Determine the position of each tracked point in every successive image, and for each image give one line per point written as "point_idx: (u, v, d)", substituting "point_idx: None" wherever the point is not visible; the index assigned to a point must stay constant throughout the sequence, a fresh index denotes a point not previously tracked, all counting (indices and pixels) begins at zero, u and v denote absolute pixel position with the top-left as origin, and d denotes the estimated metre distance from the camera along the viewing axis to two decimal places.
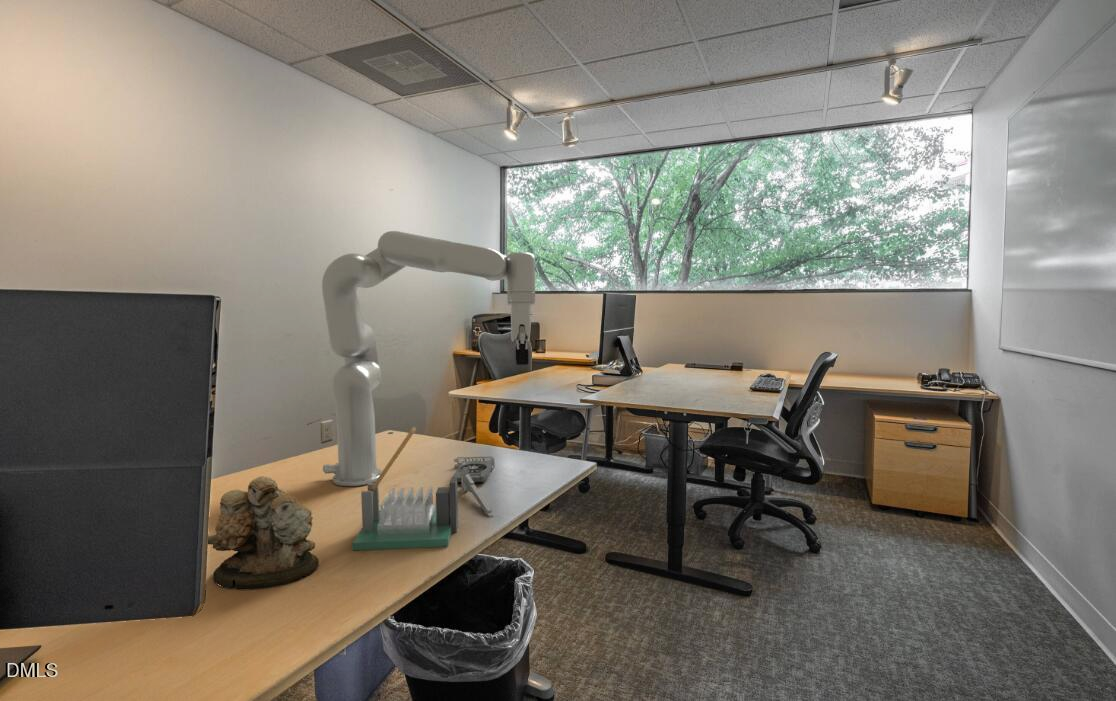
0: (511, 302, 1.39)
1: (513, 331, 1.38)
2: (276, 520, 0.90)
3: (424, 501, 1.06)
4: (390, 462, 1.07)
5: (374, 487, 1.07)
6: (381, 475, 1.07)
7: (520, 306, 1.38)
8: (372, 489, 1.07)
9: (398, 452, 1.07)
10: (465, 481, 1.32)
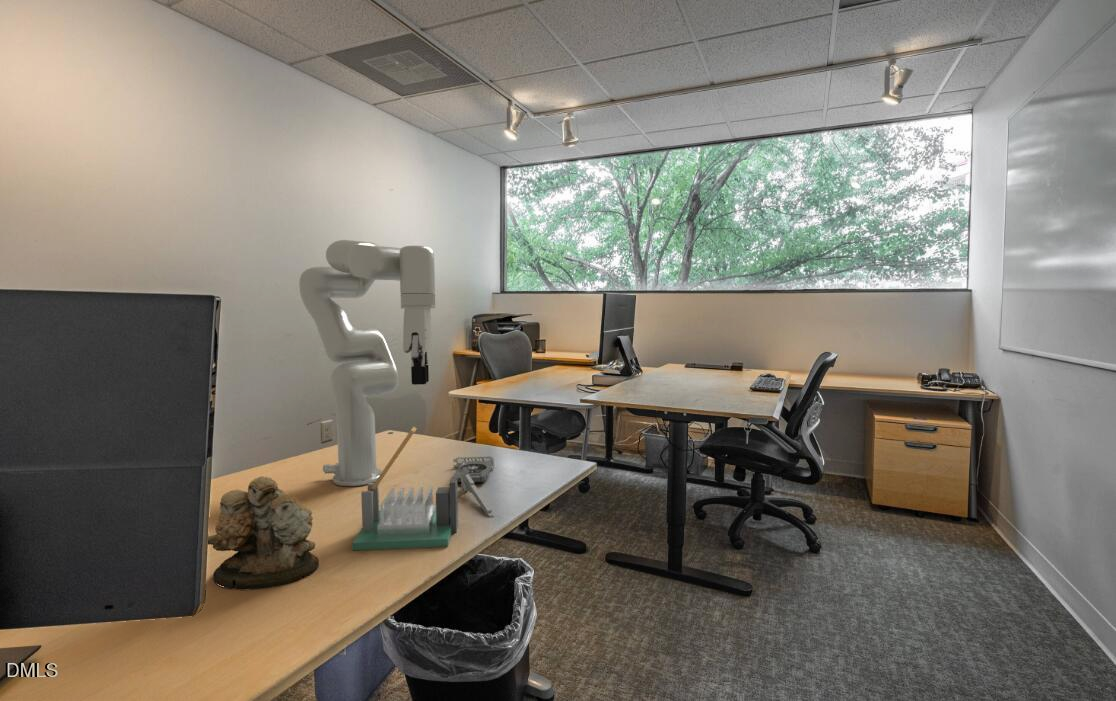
0: (403, 306, 1.16)
1: (404, 341, 1.14)
2: (276, 520, 0.90)
3: (424, 501, 1.06)
4: (390, 462, 1.07)
5: (374, 487, 1.07)
6: (381, 475, 1.07)
7: (413, 310, 1.14)
8: (372, 489, 1.07)
9: (398, 452, 1.07)
10: (465, 481, 1.32)
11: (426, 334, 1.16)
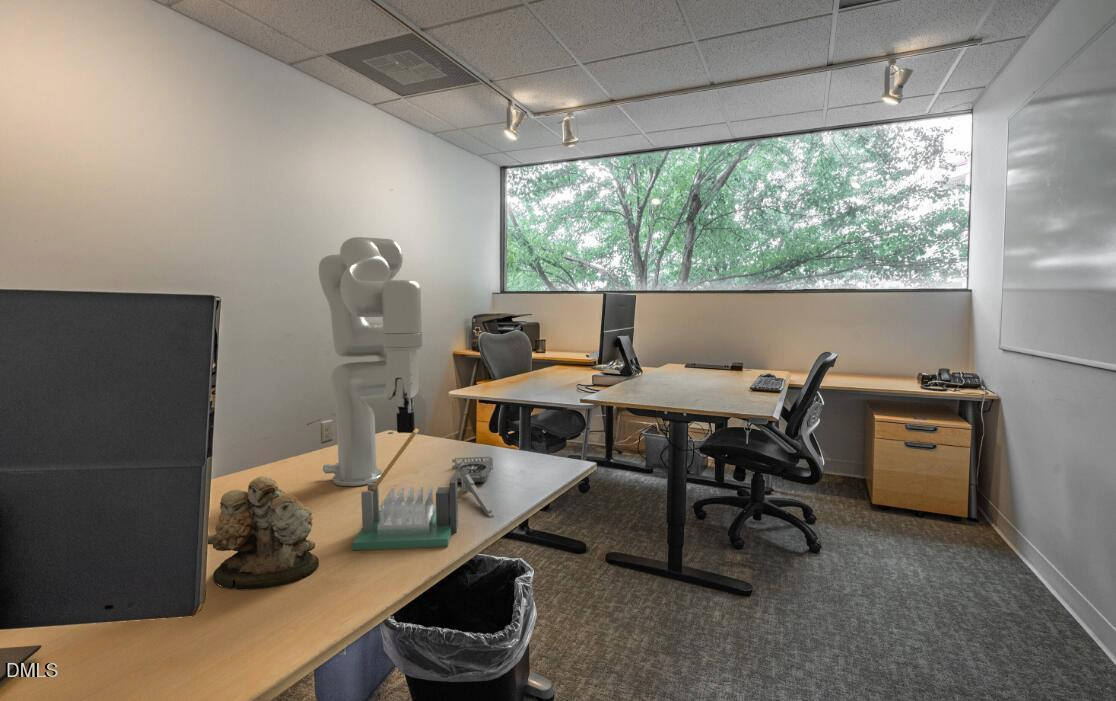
0: (386, 347, 1.04)
1: (387, 387, 1.02)
2: (276, 520, 0.90)
3: (424, 501, 1.06)
4: (391, 463, 1.07)
5: (374, 487, 1.07)
6: (382, 475, 1.07)
7: (396, 353, 1.02)
8: (372, 489, 1.07)
9: (400, 453, 1.07)
10: (465, 481, 1.32)
11: (412, 379, 1.04)
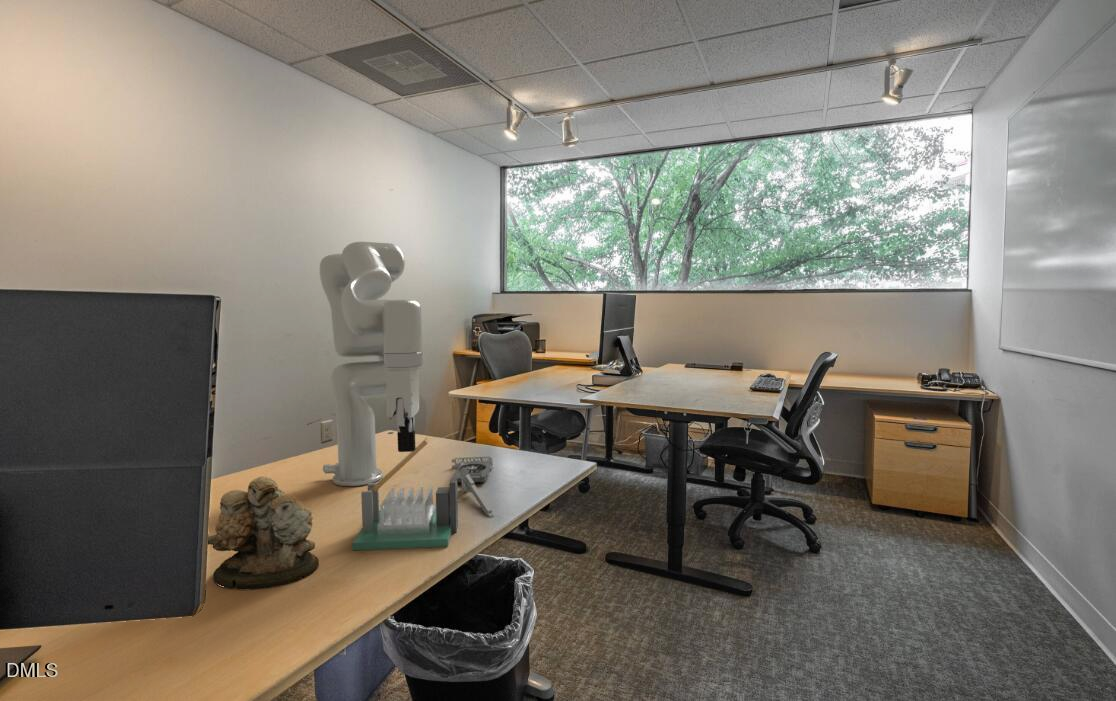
0: (387, 367, 1.04)
1: (388, 407, 1.02)
2: (276, 520, 0.90)
3: (424, 501, 1.06)
4: (397, 468, 1.07)
5: (376, 489, 1.07)
6: (385, 478, 1.07)
7: (397, 373, 1.02)
8: (373, 490, 1.07)
9: (407, 459, 1.07)
10: (465, 481, 1.32)
11: (412, 398, 1.04)
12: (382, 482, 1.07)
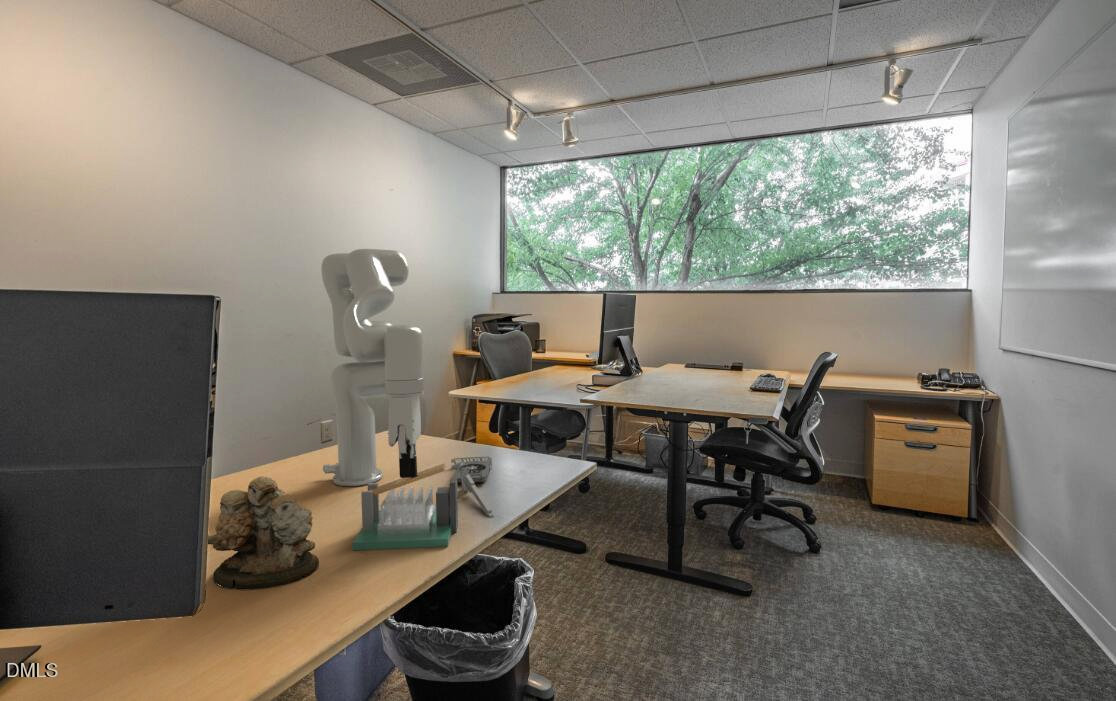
0: (389, 394, 1.04)
1: (390, 434, 1.03)
2: (276, 520, 0.90)
3: (424, 501, 1.06)
4: (406, 481, 1.08)
5: (378, 492, 1.07)
6: (391, 487, 1.07)
7: (399, 400, 1.03)
8: (375, 493, 1.07)
9: (419, 478, 1.08)
10: (465, 481, 1.32)
11: (414, 425, 1.04)
12: (386, 489, 1.07)
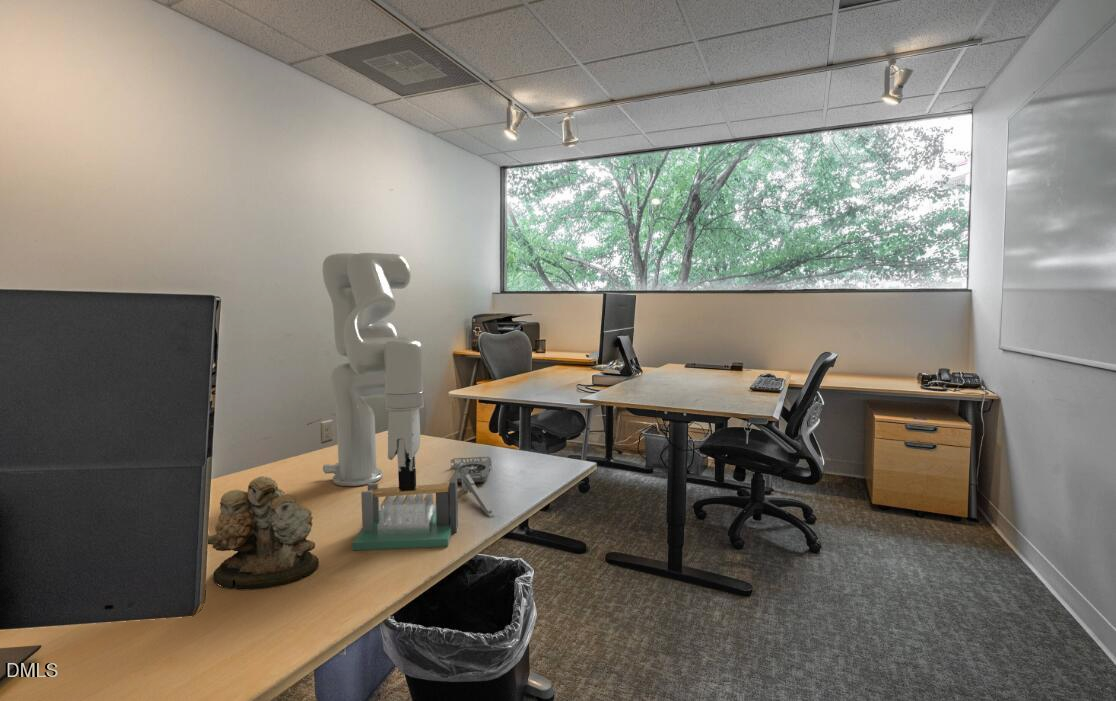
0: (388, 407, 1.05)
1: (389, 448, 1.03)
2: (276, 520, 0.90)
3: (424, 501, 1.06)
4: (409, 492, 1.08)
5: (379, 495, 1.07)
6: (393, 493, 1.07)
7: (398, 414, 1.03)
8: (376, 495, 1.07)
9: (422, 492, 1.08)
10: (465, 481, 1.32)
11: (413, 439, 1.05)
12: (388, 494, 1.07)
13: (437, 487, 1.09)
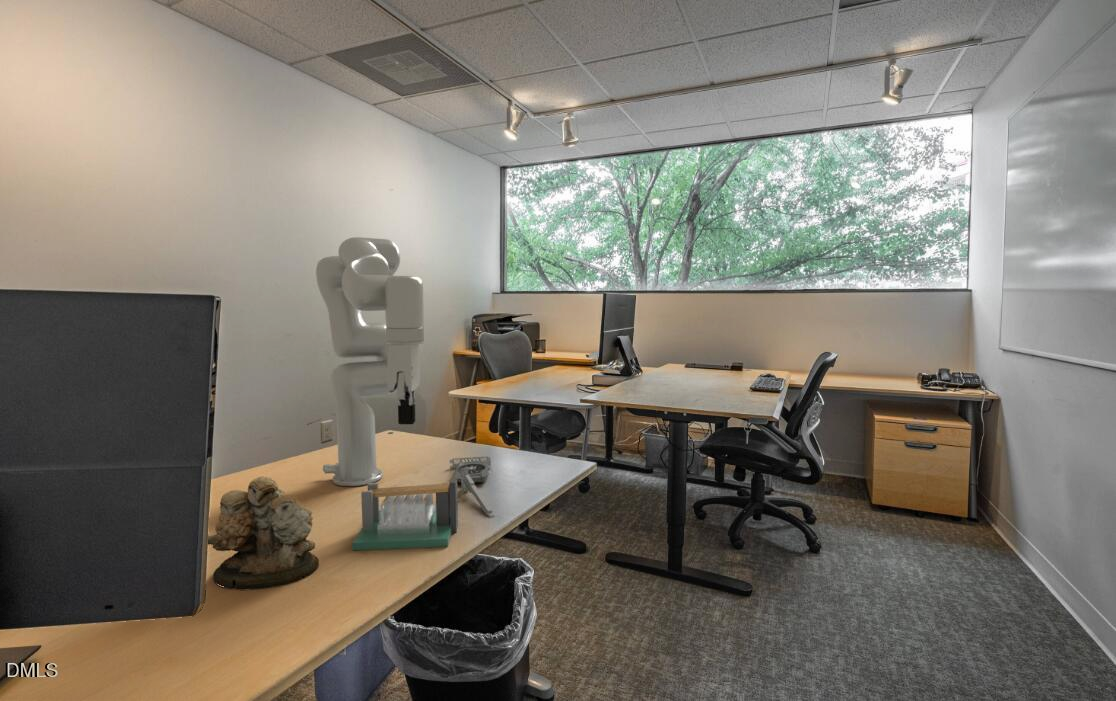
0: (389, 341, 1.06)
1: (389, 380, 1.05)
2: (276, 520, 0.90)
3: (424, 501, 1.06)
4: (409, 492, 1.08)
5: (379, 495, 1.07)
6: (393, 493, 1.07)
7: (398, 347, 1.05)
8: (376, 495, 1.07)
9: (422, 492, 1.08)
10: (465, 481, 1.31)
11: (413, 372, 1.07)
12: (388, 494, 1.07)
13: (437, 487, 1.09)
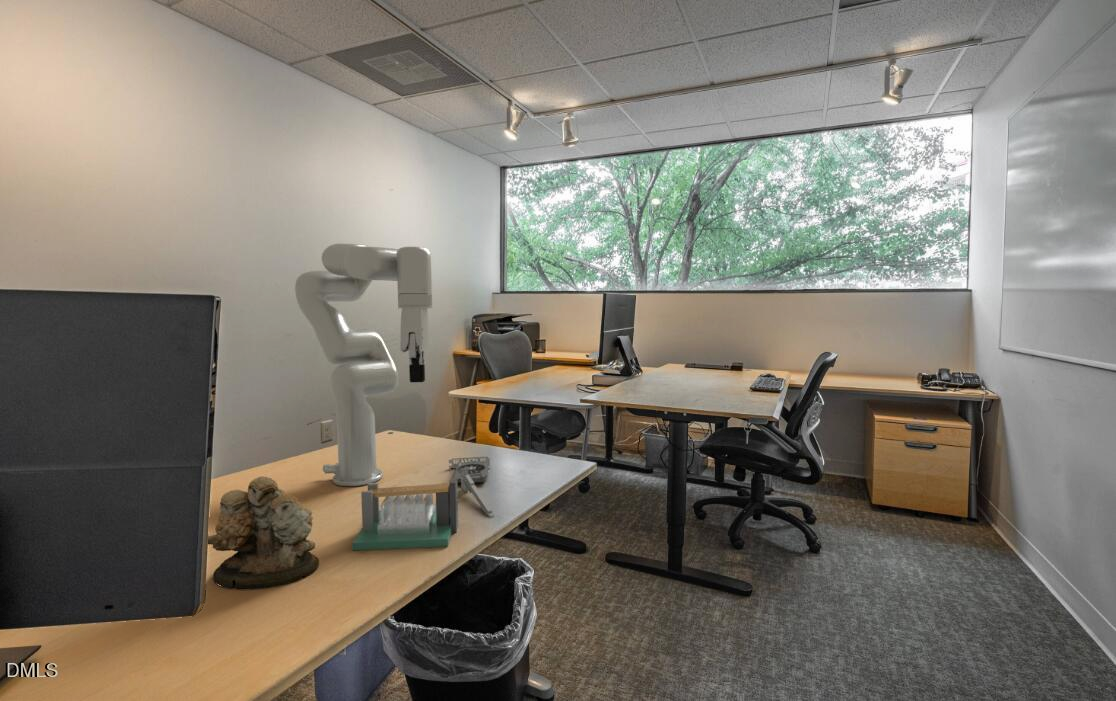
0: (401, 306, 1.18)
1: (401, 340, 1.16)
2: (276, 520, 0.90)
3: (424, 501, 1.06)
4: (409, 492, 1.08)
5: (379, 495, 1.07)
6: (393, 493, 1.07)
7: (410, 310, 1.16)
8: (376, 495, 1.07)
9: (422, 492, 1.08)
10: (465, 481, 1.31)
11: (423, 334, 1.18)
12: (388, 494, 1.07)
13: (437, 487, 1.09)
